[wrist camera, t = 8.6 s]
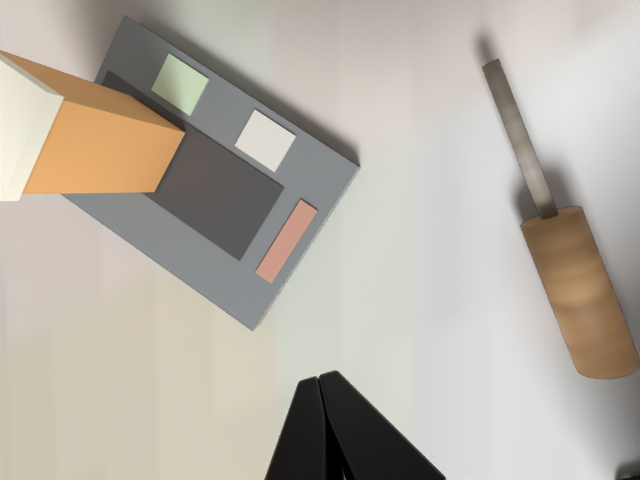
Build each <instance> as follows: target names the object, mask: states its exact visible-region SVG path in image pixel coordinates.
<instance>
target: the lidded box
mask: <svg viewBox="0 0 640 480" xmlns="http://www.w3.org/2000/svg"><path fill="white" fill-rule="evenodd" d="M184 134H185V132H184V131H182V130H181V129H179V128H178V127H176V126H175V125H173V124H172V123H170V122H169V121H167V120H166V119H164V118H163V117H161V116H160V115H158V114H157V113H155V112H154V111H152V110H151V109H149V108H148V107H146V106H145V105H143V104H142V103H140V102H139V101H137V100H136V99H134V98H133V97H132V96H130V95H127V94H124V93H121V92H118V91H116V90H113V89H110V88H107V87H104V86H101V85H98V84H96V83H93V82H90V81H87V80H84V79H81V78H78V77H76V76H73V75H70V74H67V73H64V72H61V71H58V70H56V69H53V68H50V67H47V66H44V65H41V64H39V63H36V62H33V61H30V60H27V59H24V58H21V57H19V56H16V55H13V54H10V53H7V52H4V51H1V50H0V201H19V199H20V196H21V194H67V193H136V192H155V190H156V188H157V186H158V184H159V182H160V180H161V178H162V176H163V175H164V173H165V171H166V169H167V167H168V165H169V163H170V161H171V159H172V157H173V155H174V154H175V152H176V150H177V148H178V146H179V144H180V142H181V140H182V138H183V136H184Z"/></svg>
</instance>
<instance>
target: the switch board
mask: <svg viewBox="0 0 640 480" xmlns="http://www.w3.org/2000/svg"><path fill="white" fill-rule="evenodd" d="M94 83H96V84H98V85H101V86H104V87H107V88H110V89H113V90H116V91H118V92H121V93H124V94H127V95H130V96H132V97H133V98H134V99H136V100H137V101H139V102H140V103H142V104H143V105H145V106H146V107H148V108H149V109H151V110H152V111H154V112H155V113H157V114H158V115H160V116H161V117H163V118H164V119H166V120H167V121H169V122H170V123H172V124H173V125H175V126H176V127H178V128H179V129H181V130H182V131H184V132H185V134H184V136H183V138H182V140H181V142H180V144H179V146H178V148H177V150H176V152H175V154H174V155H173V157H172V159H171V161H170V163H169V165H168V167H167V169H166V171H165V173H164V175H163V176H162V178H161V180H160V182H159V184H158V186H157V188H156V190H155V192H136V193H67V194H61V195H63V196H64V197H65V198H67V199H68V200H70V201H71V202H72V203H74V204H75V205H77V206H78V207H79V208H81V209H82V210H84V211H85V212H86V213H88V214H89V215H91V216H92V217H93V218H95V219H96V220H98V221H99V222H100V223H102V224H103V225H105V226H106V227H107V228H109V229H110V230H112V231H113V232H114V233H116V234H117V235H119V236H120V237H121V238H123V239H124V240H126V241H127V242H128V243H130V244H131V245H133V246H134V247H135V248H137V249H138V250H140V251H141V252H142V253H144V254H145V255H147V256H148V257H149V258H151V259H152V260H154V261H155V262H156V263H158V264H159V265H161V266H162V267H163V268H165V269H166V270H168V271H169V272H170V273H172V274H173V275H175V276H176V277H177V278H179V279H180V280H182V281H183V282H184V283H186V284H187V285H189V286H190V287H191V288H193V289H194V290H196V291H197V292H198V293H200V294H201V295H203V296H204V297H205V298H207V299H208V300H210V301H211V302H212V303H214V304H215V305H217V306H218V307H219V308H221V309H222V310H224V311H225V312H226V313H228V314H229V315H231V316H232V317H233V318H235V319H236V320H237V321H239V322H240V323H242V324H243V325H244V326H246V327H247V328H249V329H250V330H251V331H253V330H254V329H255V328H256V327H257V326H258V325H259V324H260V323H261V321H262V320H263V318H264V316H265V315H266V313H267V312H268V310H269V309H270V307H271V306H272V304H273V302H274V301H275V299H276V298H277V296H278V295H279V293H280V292H281V290H282V289H283V287H284V285H285V284H286V282H287V281H288V279H289V278H290V276H291V275H292V273H293V272H294V270H295V268H296V267H297V265H298V264H299V262H300V261H301V259H302V258H303V256H304V254H305V253H306V251H307V250H308V248H309V247H310V245H311V244H312V242H313V241H314V239H315V237H316V236H317V234H318V233H319V231H320V230H321V228H322V227H323V225H324V224H325V222H326V220H327V219H328V217H329V216H330V214H331V213H332V211H333V210H334V208H335V207H336V205H337V203H338V202H339V200H340V199H341V197H342V196H343V194H344V193H345V191H346V189H347V188H348V186H349V185H350V183H351V182H352V180H353V179H354V177H355V176H356V174H357V172H358V171H359V169H360V167H358V166H357V165H355V164H354V163H352V162H351V161H349V160H348V159H346V158H345V157H343V156H341V155H340V154H338V153H337V152H335V151H334V150H332V149H331V148H329V147H328V146H326V145H325V144H323V143H321V142H320V141H318V140H317V139H315V138H314V137H312V136H311V135H309V134H308V133H306V132H305V131H303V130H301V129H300V128H298V127H297V126H295V125H294V124H292V123H291V122H289V121H288V120H286V119H285V118H283V117H282V116H280V115H278V114H277V113H275V112H274V111H272V110H271V109H269V108H268V107H266V106H265V105H263V104H262V103H260V102H258V101H257V100H255V99H254V98H252V97H251V96H249V95H248V94H246V93H245V92H243V91H242V90H240V89H238V88H237V87H235V86H234V85H232V84H231V83H229V82H228V81H226V80H225V79H223V78H222V77H220V76H218V75H217V74H215V73H214V72H212V71H211V70H209V69H208V68H206V67H205V66H203V65H202V64H200V63H199V62H197V61H195V60H194V59H192V58H191V57H189V56H188V55H186V54H185V53H183V52H182V51H180V50H179V49H177V48H175V47H174V46H172V45H171V44H169V43H168V42H166V41H165V40H163V39H162V38H160V37H159V36H157V35H155V34H154V33H152V32H151V31H149V30H148V29H146V28H145V27H143V26H142V25H140V24H139V23H137V22H135V21H134V20H132V19H131V18H129V17H128V16H126V15H124V18H123V20H122V22H121V24H120V26H119V29H118V31H117V33H116V35H115V37H114V40H113V42H112V44H111V46H110V48H109V51H108V53H107V55H106V57H105V59H104V62H103V64H102V66H101V68H100V70H99V73H98V75H97V77H96V79H95V81H94Z"/></svg>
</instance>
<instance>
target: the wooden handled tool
mask: <svg viewBox="0 0 640 480" xmlns="http://www.w3.org/2000/svg"><path fill="white" fill-rule="evenodd" d="M482 70H483V72H484V75H485V77H486V80H487V82H488V85H489V88H490V90H491V93H492V95H493V98H494V100H495V103H496V106H497V108H498V111H499V113H500V116H501V118H502V121H503V124H504V126H505V129H506V131H507V134H508V136H509V139H510V141H511V144H512V147H513V149H514V152H515V154H516V157H517V159H518V162H519V165H520V167H521V170H522V172H523V175H524V177H525V180H526V183H527V185H528V188H529V190H530V193H531V195H532V198H533V201H534V203H535V206H536V208H537V211H538V213H539V215H538V216H536V217H533V218H531V219H529V220H527V221H525V222H523V223H522V224H521V225H520V227H521V230H522V232H523V235H524V237H525V240H526V242H527V245H528V248H529V250H530V253H531V255H532V258H533V260H534V263H535V265H536V268H537V270H538V273H539V276H540V278H541V281H542V283H543V286H544V288H545V291H546V293H547V296H548V298H549V301H550V304H551V306H552V309H553V311H554V314H555V316H556V319H557V321H558V324H559V327H560V329H561V332H562V334H563V337H564V339H565V342H566V344H567V347H568V349H569V352H570V355H571V357H572V360H573V362H574V365H575V367H576V370H577V371H578V372H579V373H580V374H582V375H584V376H586V377H589V378H594V379H615V378H620V377H624V376H627V375H629V374H631V373H633V372H635V371H636V370H637V369H638V368H639V367H640V358H639V355H638V353H637V350H636V347H635V345H634V342H633V340H632V337H631V334H630V332H629V329H628V327H627V324H626V321H625V319H624V316H623V313H622V311H621V308H620V306H619V303H618V300H617V298H616V295H615V293H614V290H613V287H612V285H611V282H610V280H609V277H608V274H607V272H606V269H605V267H604V264H603V261H602V259H601V256H600V253H599V251H598V248H597V246H596V243H595V240H594V238H593V235H592V233H591V230H590V227H589V225H588V222H587V220H586V217H585V214H584V212H583V209H582V207H581V206H571V207H565V208H561V209H557V208H556V205H555V203H554V200H553V198H552V195H551V193H550V190H549V187H548V185H547V182H546V180H545V177H544V174H543V172H542V169H541V167H540V164H539V162H538V159H537V156H536V154H535V151H534V149H533V146H532V143H531V141H530V138H529V136H528V133H527V130H526V128H525V125H524V123H523V120H522V118H521V115H520V112H519V110H518V107H517V105H516V102H515V99H514V97H513V94H512V92H511V89H510V87H509V84H508V81H507V79H506V76H505V74H504V71H503V68H502V66H501V63H500V61H499V59H496V60H494V61H491V62H489V63H488V64H486V65H484V66H483V67H482Z"/></svg>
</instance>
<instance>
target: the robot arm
mask: <svg viewBox="0 0 640 480" xmlns="http://www.w3.org/2000/svg"><path fill="white" fill-rule="evenodd" d="M343 472H344V473H343ZM344 476H345V477H344ZM345 479H346V480H446V477H445V476H444V475H443V474H442V473H441V472H440V471H439V470H438V469H437V468H436V467H435V466H434V465H433V464H432V463H431V462H430V461H429V460H428V459H427V458H426V457H425V456H424V455H423V454H422V453H421V452H420V451H419V450H418V449H417V448H416V447H415V446H414V445H413V444H412V443H411V442H410V441H409V440H408V439H407V438H406V437H405V436H403V435H402V434H401V433H400V432H399V431H398V430H397V429H396V428H395V427H394V426H393V425H392V424H391V423H390V422H389V421H388V420H387V419H386V418H385V417H384V416H383V415H382V414H381V413H380V412H379V411H378V410H377V409H376V408H375V407H374V406H373V405H372V404H371V403H370V402H369V401H368V400H367V399H366V398H365V397H364V396H363V395H362V394H361V393H360V392H359V391H358V390H357V389H356V388H355V387H354V386H353V385H352V384H351V383H350V382H349V381H348V380H347V379H346V378H345V377H344V376H343V375H342V374H341V373H339V372H338V371H336V370H334V371H331V372H327V373H324V374H321V375H320V376H319V379H318V377H316V376H314V377H311V378H307V379H304V380H301V381H300V382H299V383H298V385H297V388H296V391H295V394H294V396H293V399H292V402H291V405H290V408H289V411H288V414H287V416H286V419H285V422H284V425H283V428H282V431H281V434H280V436H279V439H278V442H277V445H276V448H275V451H274V454H273V456H272V459H271V462H270V465H269V468H268V471H267V474H266V476H265V479H264V480H345ZM623 480H640V476H635V477H630V478H626V479H623Z"/></svg>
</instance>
